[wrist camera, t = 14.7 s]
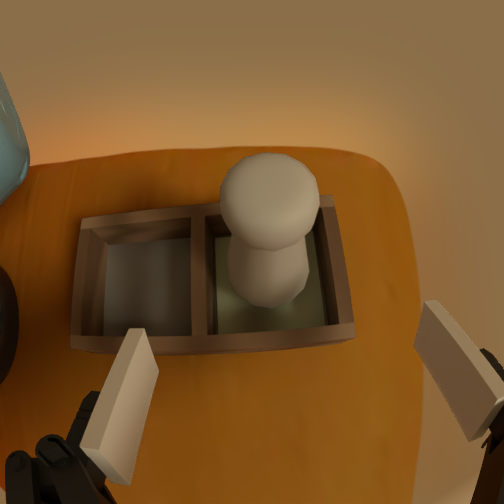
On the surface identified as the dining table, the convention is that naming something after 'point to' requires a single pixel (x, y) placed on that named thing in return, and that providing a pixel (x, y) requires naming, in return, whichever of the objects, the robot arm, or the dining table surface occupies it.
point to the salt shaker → (268, 227)
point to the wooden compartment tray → (198, 286)
